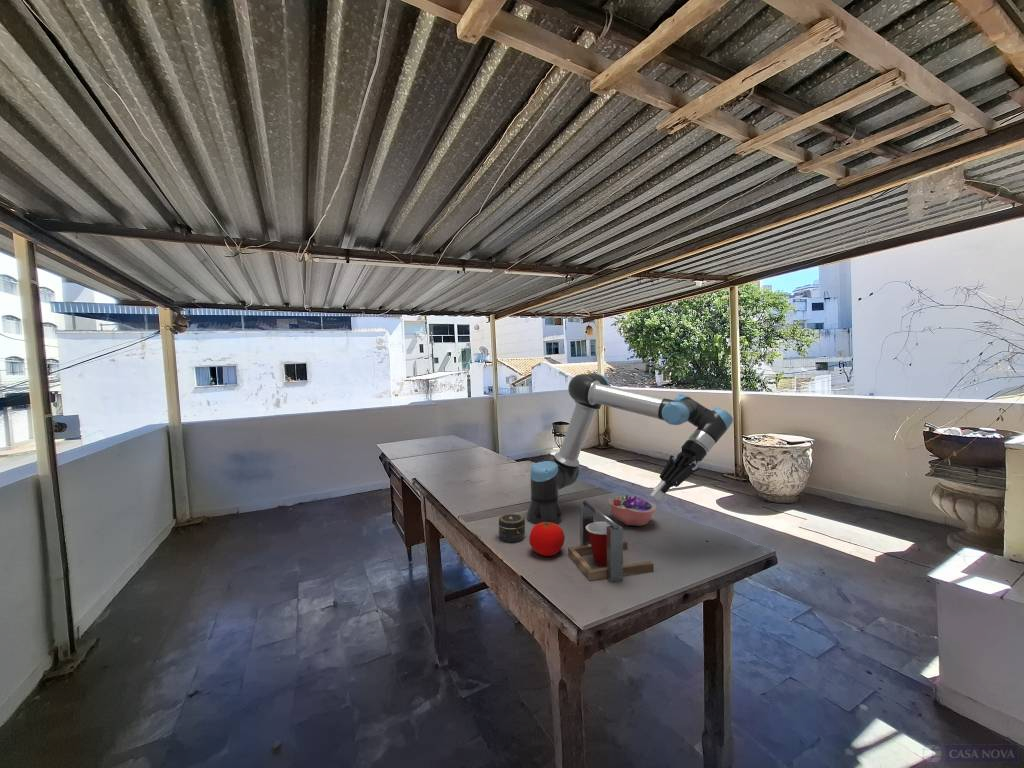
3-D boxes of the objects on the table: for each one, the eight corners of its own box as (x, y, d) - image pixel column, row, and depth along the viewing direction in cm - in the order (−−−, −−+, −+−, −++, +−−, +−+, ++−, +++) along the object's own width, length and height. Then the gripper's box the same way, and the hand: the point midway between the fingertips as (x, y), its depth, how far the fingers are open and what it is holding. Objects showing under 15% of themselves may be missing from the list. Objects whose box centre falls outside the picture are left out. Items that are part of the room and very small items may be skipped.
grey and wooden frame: (565, 551, 135) (564, 502, 135) (621, 544, 140) (621, 496, 140) (593, 585, 113) (592, 527, 113) (658, 575, 118) (658, 519, 118)
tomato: (523, 553, 134) (523, 523, 134) (545, 542, 143) (544, 513, 142) (549, 564, 126) (549, 532, 126) (570, 551, 135) (570, 521, 135)
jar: (507, 545, 140) (507, 525, 140) (494, 536, 149) (493, 516, 148) (530, 539, 145) (530, 519, 145) (515, 530, 154) (515, 511, 154)
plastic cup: (596, 551, 135) (596, 517, 135) (625, 561, 128) (625, 525, 127) (579, 563, 127) (579, 526, 126) (609, 574, 120) (609, 535, 119)
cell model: (626, 511, 173) (626, 486, 172) (665, 526, 156) (665, 498, 156) (599, 520, 164) (599, 493, 163) (638, 536, 147) (637, 506, 146)
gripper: (718, 457, 128) (673, 512, 124) (691, 449, 140) (649, 499, 137) (704, 442, 126) (658, 497, 123) (678, 435, 139) (636, 485, 136)
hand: (654, 498), depth 130 cm, fingers closed
